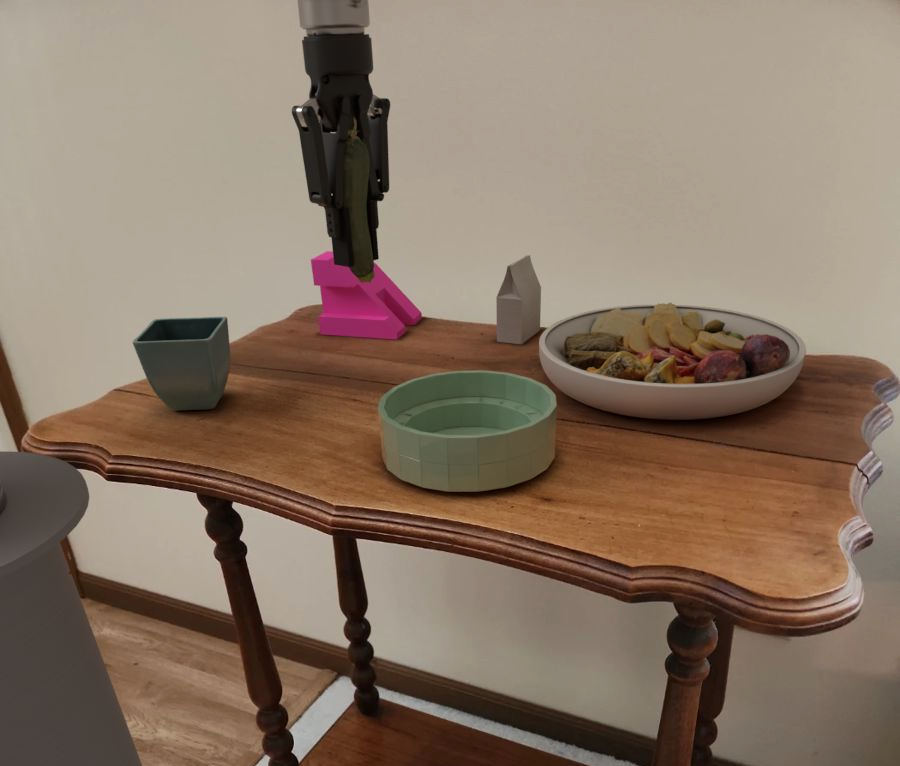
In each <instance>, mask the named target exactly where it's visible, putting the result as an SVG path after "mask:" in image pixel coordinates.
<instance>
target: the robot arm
mask: <svg viewBox="0 0 900 766" xmlns="http://www.w3.org/2000/svg"><path fill="white" fill-rule="evenodd" d="M297 8H298V18H299V26H300V28H301V30H305V34H306V35H304V36H303V39H302V40H301V45H302V53H303V64H304V71H305V74H306V75H307V76H308V77H309V80H310V87H309V88H310V89H309V93H308V100H307V101H305V102H304V103H302V104H301V105H293V106H292V108H291V116H292V118H293V120H294V123H295V125H296V127H297V130H298V134H299V140H300V148H301V154H302V161H303V167H304V174H305V179H306V186H307V187H306V188H307V193H308V199H309V201H310V203H312V204H316V205H318V206H319V207H322V208H324V215H325V222H326V223H325V224H326V231H327V235H328V237H329V238H331V246H332V251H333V257H334V265H340V266H345V267H352V266H354V261H353V250H352V239H351V228H350V217H349V208H347V207H342V205H343V180H344V145H345V142H346V141H347V139H348V131H349V130H353V127H354V117H355V120H356V121H357V124H356V125H357V129H356V131H358V132H357V136H358V137H359V138H360V140H361V141H362V142H363V143H364V144H365V145H366V147H367V150H368V154H369V178H368V190H367V201H366V210H367V222H368V228H369V233H370V239H371V246H372V253H373V259H374V261H378V260H379V259H380V258H379V257H380V255H379V243H378V230H377V229H379V225H380V221H379V207H378V202H382V201H383V200H384V199H385V194H386V193H388V192H389V191H390V163H389V136H388V135H389V131H388V120H389V116H390V111H391V101H390V99H389V98H387V97H385V98H384V97H379V96H377V95H375V94H374V92H373V88H372V85H371V82H370V79H369V78H370V77H369V76H370V75H371V74H372V73H373V72H374V57H373V55H374V54H373V44H372V43H373V41H372V37H370V34H369V33H366V30H365V28H368V27H369V26H370V25H371V18H370V4H369V0H297ZM6 502H7V498H6V495H5V492H4V490H3V487H2V484H1V482H0V514H1V513H2V511H3V510H4V508H5V506H6Z"/></svg>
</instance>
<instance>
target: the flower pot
mask: <svg viewBox="0 0 900 766" xmlns="http://www.w3.org/2000/svg"><path fill="white" fill-rule="evenodd" d="M228 322H229V321H228V317H227V316H204V317H172V318H171V317H169V318H167V317H166V318H155V319H153V320H152V321H151V322H149V324H148V325H147V326H146V327H145V328H144V329H143V330H142V331H141V332H140V333H139V335H138V336H137V337H135V338H134V339H133V340H132V345H133V348H134V350H135V353H136V355H137V358H138V361H139V362H140V363H139V364H140V366H141V367H142V368H141V369H142V370H143V373H144V375H145V378H146V381H147V382H148V384H149V385H150V387H151V389H152V390H153V392H154V393H155V395H156V396H157V397H158V398H159V400H160V401H161V402H163V404H165V405H166V406H167V407H168V408H169V409H170V410H171V411H194V410H195V411H198V410H201V411H202V410H213V409H215V408H216V407H217V405H218V403H219V401H220V400H221V398H222V396H223V395H224V392H225V389H226V386H227V382H228V378H229V375H230V369H231V347H230V334H229V323H228Z"/></svg>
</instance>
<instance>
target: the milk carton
mask: <svg viewBox="0 0 900 766" xmlns="http://www.w3.org/2000/svg"><path fill="white" fill-rule="evenodd" d="M535 271H536V270H535V269H534V266H533V263H532V258H531V254H526V255H525V256H523V257H521V258H519V259H518V260H516V261H514V262H512V263H510V264H509V265H506V272H505V275H504V279H503V281H502V283H501V285H500V288H499V290H498V293H497V295H496V296H495V297H496V301H495V302H496V342H497V343H504V344H505V343H506V344H513V345H523V344H524V343H525V342H527V341H528V340H529V339H531V338H532V337H533V336H535V335H536V334H537V333H539V332H540V331H541V308H542V306H541V304H542V286H541V283H540V280H539V278H538V277H537V273H536V272H535Z"/></svg>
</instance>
